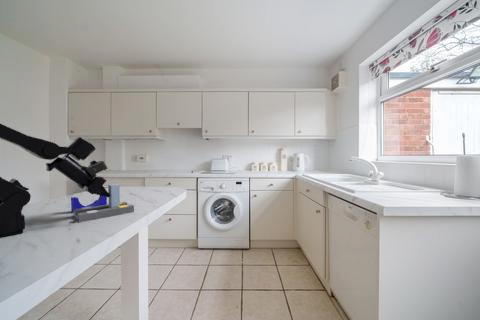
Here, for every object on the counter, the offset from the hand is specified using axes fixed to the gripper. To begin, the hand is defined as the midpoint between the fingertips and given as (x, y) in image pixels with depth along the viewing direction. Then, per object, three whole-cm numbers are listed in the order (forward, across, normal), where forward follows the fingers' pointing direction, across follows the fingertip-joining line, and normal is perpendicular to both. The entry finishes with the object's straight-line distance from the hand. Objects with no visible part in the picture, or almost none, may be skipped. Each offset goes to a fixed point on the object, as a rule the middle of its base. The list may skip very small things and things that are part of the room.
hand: (109, 196), depth 86 cm
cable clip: (+2, +13, +8) cm, 16 cm away
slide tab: (+5, 0, +3) cm, 6 cm away
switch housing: (+4, 0, +6) cm, 7 cm away
